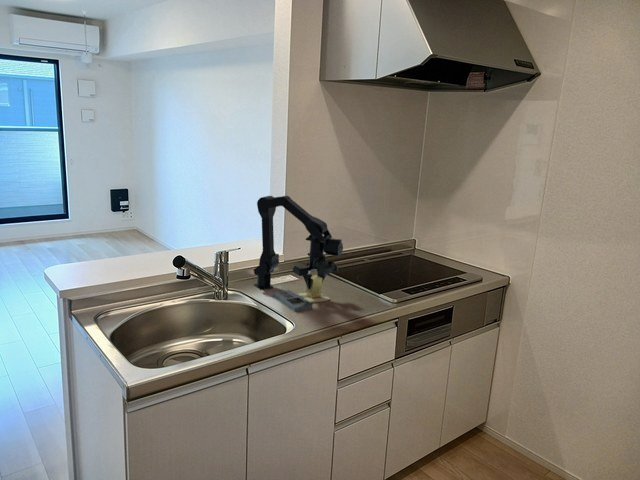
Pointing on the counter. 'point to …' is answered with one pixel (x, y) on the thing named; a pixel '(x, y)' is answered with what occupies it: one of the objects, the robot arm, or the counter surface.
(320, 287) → the brass block
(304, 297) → the pale folded cloth
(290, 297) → the grey block holder tray
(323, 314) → the counter surface
